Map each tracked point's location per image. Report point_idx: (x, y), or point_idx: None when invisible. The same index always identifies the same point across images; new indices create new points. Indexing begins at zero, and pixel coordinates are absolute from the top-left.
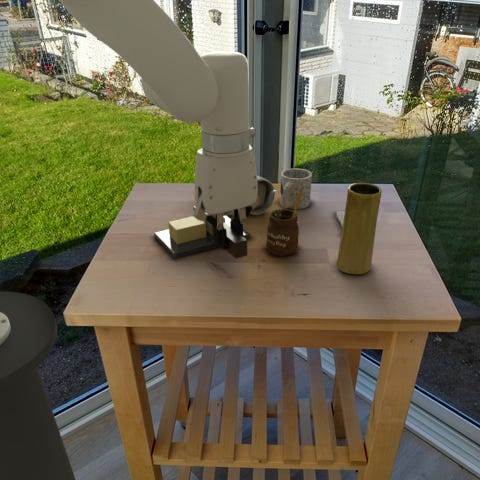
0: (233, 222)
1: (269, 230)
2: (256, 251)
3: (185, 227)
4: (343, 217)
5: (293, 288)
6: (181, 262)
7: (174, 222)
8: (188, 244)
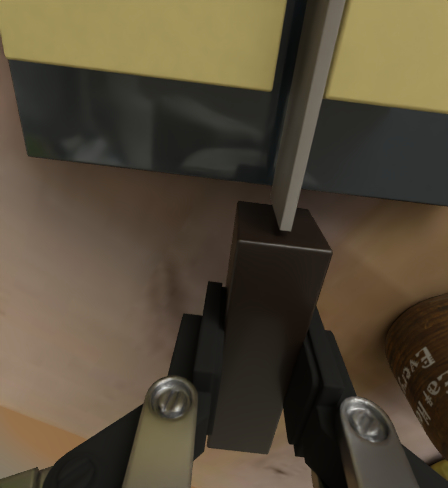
0: (306, 409)
1: (440, 415)
2: (363, 296)
3: (86, 65)
4: None
5: (279, 453)
6: (63, 197)
7: None
8: (128, 108)
